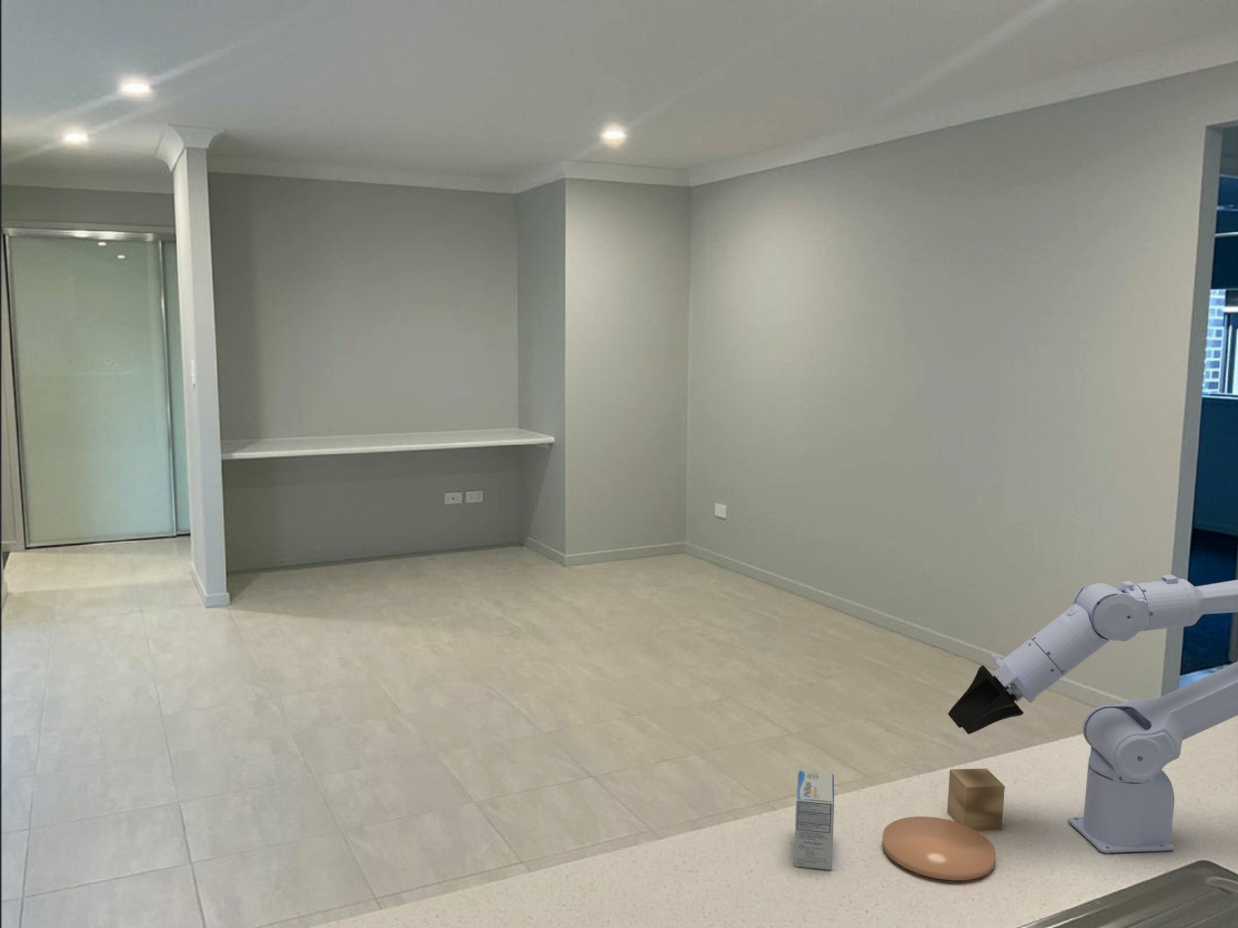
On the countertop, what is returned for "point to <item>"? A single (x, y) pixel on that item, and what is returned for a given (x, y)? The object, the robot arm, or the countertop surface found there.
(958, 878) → the peach round disc
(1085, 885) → the countertop surface
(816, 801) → the medicine box
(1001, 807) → the oak block
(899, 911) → the countertop surface
